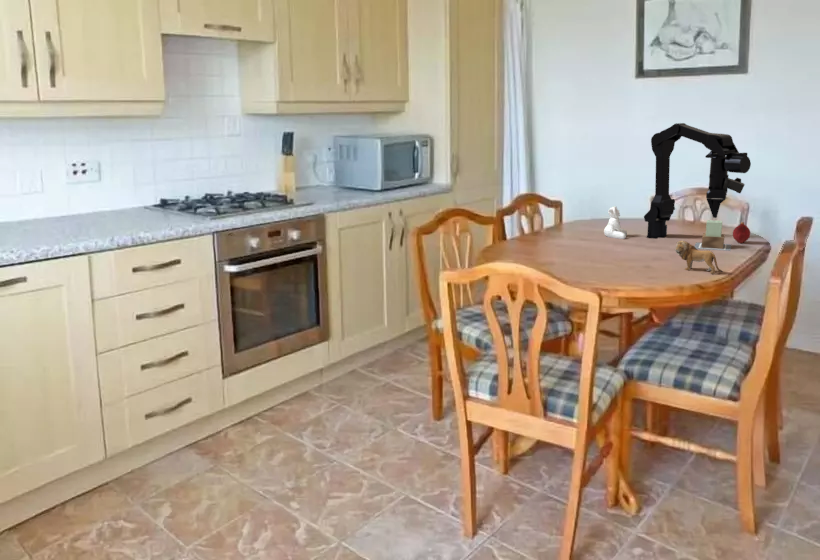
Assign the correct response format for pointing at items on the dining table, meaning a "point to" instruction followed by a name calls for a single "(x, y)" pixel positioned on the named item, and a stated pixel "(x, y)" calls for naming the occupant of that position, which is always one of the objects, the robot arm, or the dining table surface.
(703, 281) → the dining table surface
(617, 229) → the white creature statuette
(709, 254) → the lion figurine
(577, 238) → the dining table surface
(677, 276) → the dining table surface
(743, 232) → the onion
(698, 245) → the blueprint mat
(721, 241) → the walnut base
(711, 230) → the sage block
